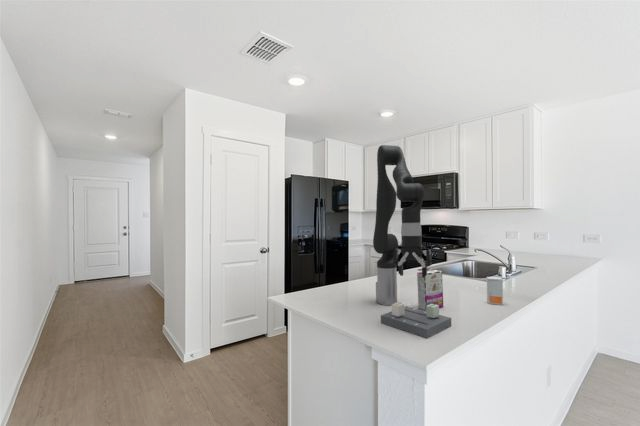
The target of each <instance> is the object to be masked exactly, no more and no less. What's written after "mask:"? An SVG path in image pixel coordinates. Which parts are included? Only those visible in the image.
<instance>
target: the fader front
mask: <svg viewBox="0 0 640 426" xmlns="http://www.w3.org/2000/svg"><path fill="white" fill-rule="evenodd" d="M404 307H405V303H403V302H402V303H401V302H397V303H395V304H392V305H391V311H392V315H394V316H398V317H399V316H401V315H404V314H405V313H404Z"/></svg>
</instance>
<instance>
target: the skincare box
mask: <svg viewBox="0 0 640 426" xmlns="http://www.w3.org/2000/svg"><path fill="white" fill-rule="evenodd" d="M503 287H504V285H503V278H502V277H499V276H486V302H487V304H488V305H499V306H503V305H504V303H503V302H504V301H503V298H504V297H503V294H504V293H503V291H504V289H503Z"/></svg>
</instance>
